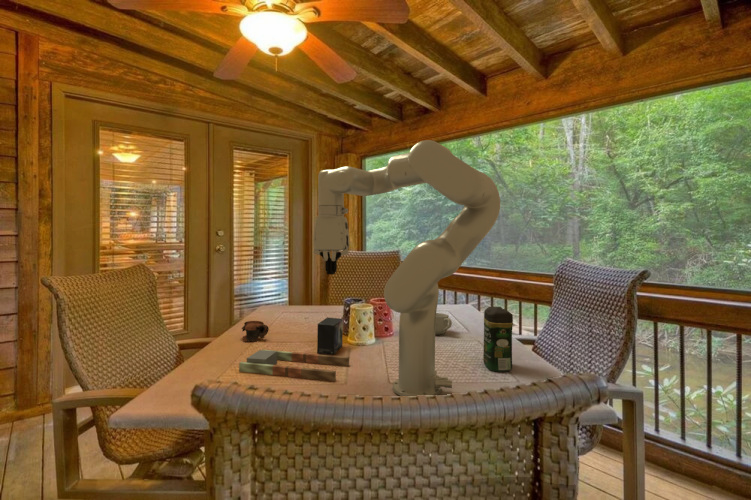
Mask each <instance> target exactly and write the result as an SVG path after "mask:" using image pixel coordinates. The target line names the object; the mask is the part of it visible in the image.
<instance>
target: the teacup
mask: <svg viewBox="0 0 751 500" xmlns="http://www.w3.org/2000/svg"><path fill="white" fill-rule="evenodd" d="M449 317H450V316H449V314H445V313H440V312H436V332H435V336H436V335H437V336H440V335H443V334H445V333H446V332H447V330H448V329H450V328H451V327H452V323H453V322H452V319H451V318H449Z"/></svg>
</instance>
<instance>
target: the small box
mask: <svg viewBox="0 0 751 500" xmlns="http://www.w3.org/2000/svg"><path fill="white" fill-rule="evenodd" d="M343 321H344V318H338V317H337V318H336V317H326V318H324V319H323V320H321V321H320V322H318V323H317V334H316V335H317V336H316V337H317V340H316V342H317V346H316V348H317V349H316V354H319V355H330V356H335V355H336V353H337V352H338V351H339V350H340V349H341V348H342V347H343V330H344V329H343V326H344V325H343V324H344V323H343Z"/></svg>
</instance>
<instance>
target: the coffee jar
mask: <svg viewBox="0 0 751 500" xmlns="http://www.w3.org/2000/svg"><path fill="white" fill-rule="evenodd" d="M483 313H484V314H483V356H482V357H483V359H482V360H483V364H484V365H485V367H486V368H487V369H488V370H489V371H493V372H494V371H495V372H497V373H498V372H499V373H505V372H509V371H511V370H512V369H513V325H514V323H513V322H514V317H513V314H512V312H510V311H509V310H507V309H505V308H502V307H501V306H488V307H487V308H486V309H484V312H483Z"/></svg>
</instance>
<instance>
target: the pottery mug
mask: <svg viewBox="0 0 751 500" xmlns="http://www.w3.org/2000/svg"><path fill="white" fill-rule="evenodd" d="M241 330H242V332H245V335H243V336H242V342H243V343H245V342H253V343H254V342H255V343H256V342H257V341H259V338H260V340H261V339H264V337H266V335H267V334H268V333H269V330H270V329H269V326H268V325H267V324H264V322H263V321H260V320H248V321H245V322H244V325H243V326H242V327H241Z"/></svg>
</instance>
